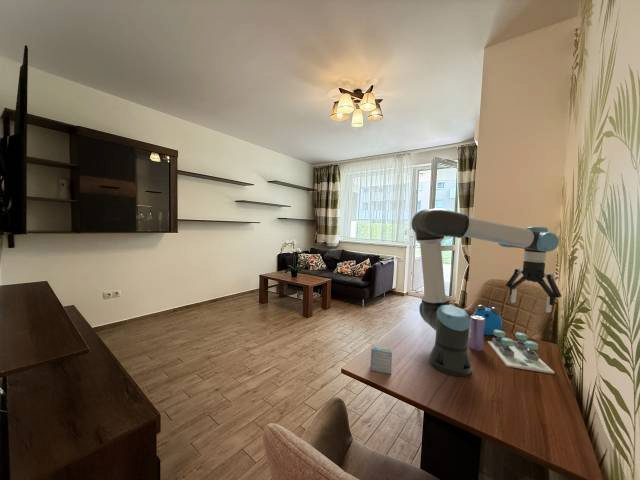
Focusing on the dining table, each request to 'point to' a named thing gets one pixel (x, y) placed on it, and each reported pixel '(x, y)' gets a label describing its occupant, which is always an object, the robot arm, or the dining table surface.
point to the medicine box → (381, 359)
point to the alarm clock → (489, 318)
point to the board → (519, 356)
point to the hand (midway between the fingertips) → (529, 307)
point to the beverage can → (476, 332)
